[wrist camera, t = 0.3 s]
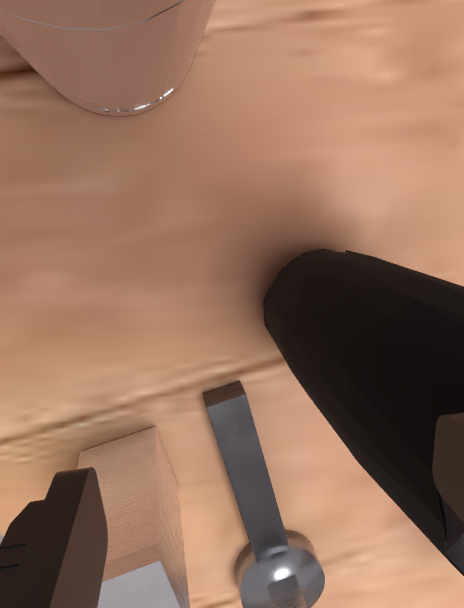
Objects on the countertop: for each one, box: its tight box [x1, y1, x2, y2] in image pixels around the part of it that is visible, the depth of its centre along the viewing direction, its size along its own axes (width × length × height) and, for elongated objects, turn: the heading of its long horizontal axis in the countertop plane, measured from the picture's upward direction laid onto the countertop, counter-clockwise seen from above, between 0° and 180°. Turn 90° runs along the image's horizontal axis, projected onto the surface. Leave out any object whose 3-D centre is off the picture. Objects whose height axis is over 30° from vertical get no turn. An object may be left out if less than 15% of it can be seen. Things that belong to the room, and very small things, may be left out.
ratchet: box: [203, 381, 325, 608], centre depth 30 cm, size 22×7×6 cm, turn 15°
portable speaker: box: [263, 249, 464, 576], centre depth 20 cm, size 9×9×20 cm
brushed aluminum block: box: [77, 426, 190, 608], centre depth 25 cm, size 5×5×11 cm
